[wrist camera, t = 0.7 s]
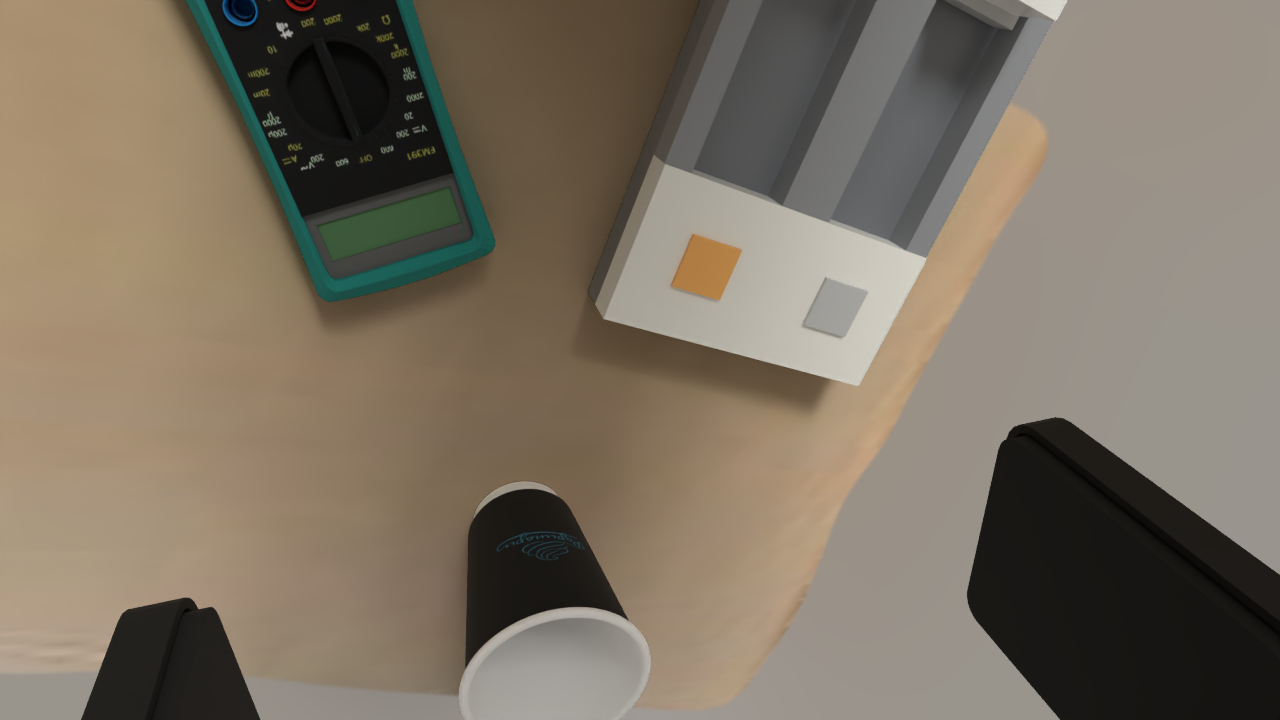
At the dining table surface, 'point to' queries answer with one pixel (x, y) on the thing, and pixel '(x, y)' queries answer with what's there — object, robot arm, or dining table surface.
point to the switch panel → (805, 173)
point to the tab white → (1009, 10)
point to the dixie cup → (543, 617)
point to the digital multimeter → (351, 137)
